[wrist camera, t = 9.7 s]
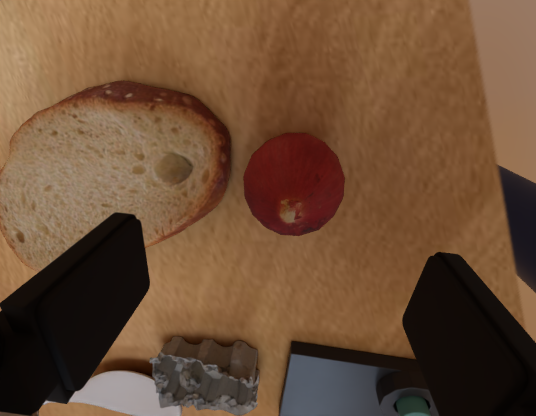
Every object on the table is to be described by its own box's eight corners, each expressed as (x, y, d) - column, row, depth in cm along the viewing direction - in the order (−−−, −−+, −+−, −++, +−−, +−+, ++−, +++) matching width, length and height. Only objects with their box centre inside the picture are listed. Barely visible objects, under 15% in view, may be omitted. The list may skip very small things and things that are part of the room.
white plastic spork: (-70, 331, 34) (-107, 357, 31) (184, 364, 31) (172, 397, 28) (-36, 376, 38) (-66, 404, 35) (191, 409, 35) (181, 442, 32)
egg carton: (261, 340, 28) (255, 381, 25) (260, 385, 32) (255, 426, 28) (160, 330, 29) (140, 368, 25) (170, 375, 33) (154, 414, 29)
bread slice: (22, 251, 26) (-19, 278, 23) (-23, 33, 18) (-97, 25, 15) (206, 301, 26) (192, 334, 23) (245, 109, 18) (233, 118, 15)
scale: (439, 361, 27) (454, 394, 24) (400, 428, 32) (409, 460, 30) (291, 339, 28) (290, 367, 25) (279, 408, 33) (277, 437, 30)
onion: (346, 188, 20) (372, 254, 13) (272, 212, 21) (258, 283, 14) (321, 108, 18) (334, 135, 11) (240, 142, 19) (205, 184, 12)
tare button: (429, 396, 25) (437, 415, 24) (420, 412, 26) (426, 431, 25) (400, 391, 25) (406, 410, 24) (392, 407, 26) (397, 426, 25)
